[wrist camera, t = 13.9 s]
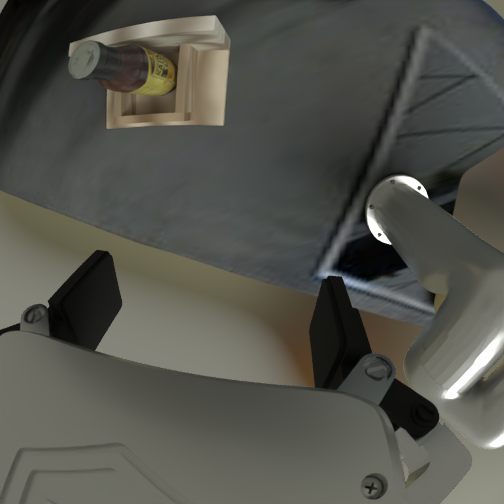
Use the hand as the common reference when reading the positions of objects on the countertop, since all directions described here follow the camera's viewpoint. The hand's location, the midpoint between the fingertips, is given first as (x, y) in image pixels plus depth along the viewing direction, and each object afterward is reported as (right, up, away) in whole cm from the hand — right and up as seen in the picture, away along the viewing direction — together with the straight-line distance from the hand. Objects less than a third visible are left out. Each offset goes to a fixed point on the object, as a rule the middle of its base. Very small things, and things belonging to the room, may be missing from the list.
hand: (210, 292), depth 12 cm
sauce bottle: (-12, +28, +22) cm, 38 cm away
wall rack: (-12, +28, +24) cm, 38 cm away
